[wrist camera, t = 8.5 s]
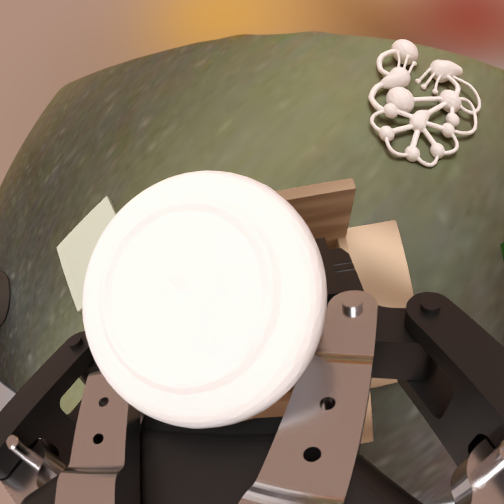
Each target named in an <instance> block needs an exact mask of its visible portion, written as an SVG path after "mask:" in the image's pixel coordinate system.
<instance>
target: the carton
mask: <svg viewBox="0 0 504 504" xmlns="http://www.w3.org/2000/svg"><path fill="white" fill-rule="evenodd" d="M355 190H356V187H355V184H354V181H353V178H349V179H343V180H337V181H331V182H325V183H319V184H313V185H307V186H302V187H296V188H291V189H285V190H280V191H275V192H276V193H278V194H279V195H280V196H281V197H283V198H284V199H285V200H286V201H287V202H288V203H289V204H291V205H292V206H293V207H294V209H295V210H296V211H297V212H298V213H299V215H300V216H301V217H302V218H303V220H304V221H305V223H306V224H307V226H308V227H309V229H310V231H311V233H312V235H313V237H314V239H315V238H322V237H325V240H326V243H327V246H328V249H335V248H342V249H343V250H345V251H346V252H347V253H349V255H350V257H351V260H352V263H353V265H354V267H355V270H356V272H357V274H358V277H359V279H360V282H361V284H362V287H363V290H364V292H367V293H369V294H371V295H372V296H373V297H374V298H375V299H376V301H377V304H378V305H380V306H383V307H390V308H406V304H407V302H408V300H409V299H410V298H411V297H412V296H414V295H413V290H412V285H411V280H410V275H409V271H408V266H407V262H406V258H405V254H404V250H403V246H402V242H401V238H400V234H399V231H398V227H397V223H396V220H393V221H387V222H381V223H375V224H369V225H363V226H358V227H352V228H348V225H349V220H350V215H351V210H352V205H353V200H354V195H355ZM396 382H398V381H397V379H383V378H372V380H371V387H370V388H374V387H379V386H383V385H388V384H392V383H396ZM295 384H296V383H295ZM294 386H295V385H294ZM294 386H293V387H292V388H291V389H290V390H289V391H288V392H287V393H286V394H285V395H283V396H282V397H281V398H280V399H279V400H278V401H277V402H275V403H274V404H273V405H271V406H270V407H269V408H267V409H266V410H264V411H262V412H260V413H258V414H256V415H254V416H253V417H251V418H248V419H246V420H249V419H253V418H265V417H280V416H284V413H285V411H286V408H287V405H288V403H289V400H290V397H291V395H292V392H293V389H294ZM244 421H245V420H244ZM372 441H373V426H372V410H371V397H370V394H369V401H368V407H367V413H366V418H365V424H364V429H363V434H362V439H361V444H362V443H367V442H372Z"/></svg>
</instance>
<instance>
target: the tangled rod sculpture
mask: <svg viewBox="0 0 504 504" xmlns="http://www.w3.org/2000/svg"><path fill="white" fill-rule="evenodd" d="M389 55H393V57H394V58H395V59H396V60H397V61H398V65H397V67H395V68H393V69H392V70H391V71H390V72H388V71H386V70H384V69H383V67H382V61H383V59H384V58H385V57H387V56H389ZM417 59H418V50H417V48H416V46H415V45H414V44H413V43H412V42H410V41H408V40H404V39H400V40H397V41H395V42H394V43H393V45H392V48H391V50H388V51H385V52H383V53H382V54H380V55H379V56H378V58H377V69H378V71H379V72H380V73H381V74H383V75H384V76H386V77H385V78H383V79H382V80H381V82H380V83H378V84H376V85H374V87H373V88H372V89H371V91H370V93H369V96H368V99H369V101H370V103H371V104H372V106H373V107H374V108H375V109H376V110H377V112H375V113H373V115H372V116H371V117H370V123H371V125H372V127H373V128H374V129H375V130H376V131H378V132H379V136H380V138H381V139H382V140H383V141H385V143H386V146H387V148H388V149H389V151H390V152H391V153H392V154H394V155H396V156H399V157H406V159H407V160H409V161H410V162H415V161H418V162H420V163H421V164H422V165H424V166H426V167H433V166H434V165H436V164H437V162H438V159H440V158H442V157H443V156H444V155H450V154H453V153H455V152H456V151H457V150H458V148H459V143H458V140H457V138H456V136H455V135H454V134H458V135H471V134H473V133H474V132H475V131H476V129H477V115H476V113H478V112H479V110H480V108H481V100H480V97H479V95H478V93H477V91H476V90H475V89H474V88H473V87H472V85H470V84H469V83H468V82H466V81H463V80H461V79H460V78H458V76H461V75H462V74H463V70H462V68H461V67H459V66H458V65H456V64H455V63H453V62H451V61H445V60H435V61H433V62H432V63H431V65H430V68H429V69H428V70H427V71H426V72H425V73H424V74H423V75H422V76H421V77H420V78H419V79H416V80H415V82H416V83H417V84H420V83H421V81H422V79H423V78H424V77H425V76H426V75H427V74H428V73H429V72H430V74H431V76H430V77H429V79H428V80H427V81H426V83H425V84H422V85H421V89H423V90H426V88H427V85H428V84H429V82H430V81H431V80H432V78H434V79H435V80H436V83H435V87H434V89H433V90H432V93H433V94H435V95H437V94H438V90H437V86H438V83H443V82H446V81H448V80H449V81H450V82H451V83H452V84H453V85H454V86H455V91H452V90H444V91H442V92H441V94H440V95H439V96H435V97H414V98H413V95H412V94H411V92H410V91H409V90H407V89H405V88H404V87H406V86H408V84H409V83H410V73H411V70H412V68H413V66H416V65H417V63H416V61H417ZM400 63H401V64H404V66H403V67H400ZM411 64H412V65H411ZM406 65H411V67H410V69H409V71H407V70H406V69H405V68H406ZM456 80H457V81H459V82H461V83H463V84H465V85H467V86H468V87H470V89H471V90H472V91H473V92H474V94H475V95H476V97H477V101H478V106H477V108H476V109H475V108H474V105H473V104H472V102H471V101H470V100H468V99H466V98H463V97H459V96H458V95H459V94H460V91H461V89H460V86H459V84H458V83H457V81H456ZM381 88H384V89H389V91H388V93H387V96H386V102H387V104H386V105H385V106H384V107H382V106H381V105H379V104H378V103H377V101H376V100H375V95H376V92H377V91H378V90H379V89H381ZM427 101H439V103H440V104H438V105H437V106H435V107H433V108H431V109H429V110H418V111H417V112H415V113H414V114H410V113H409V112H411V111H412V109H413V107H414V102H427ZM461 101H465V102H467V103H468V104H469V105H470V106H471V108H472V111H470V110H467V109H466V108H464V107H463V106H462V105H461ZM442 108H443V109H444V110H445V111H446V112H449V113H448V114H447V116H446V122H447V123H444V124H443V125H442V126H441V125H438V124H435V123H432V122H429V121H428V119H429V117H430V115H431V114H433V113H435V112H436V111H438V110H440V109H442ZM460 108H461V109H462V110H463V111H464V112H466V113H468V114H473V117H474V126H473V129H472V130H470V131H467V132H465V131H458V130H455V128H454V127H456V126H457V125H458V124H459V117H458V116H457V115H456V114H455V112H457V111H458V110H459V109H460ZM382 113H384V114H385V116H386V117H388V118H395V117H396V116H397V115H401V116H404V117H407V118H410V119H409V124H408V125H404V126H400V127H396V128H393V129H392V128H391V127H389V126H383V127H381V128H379V127H377V126H376V125H375V123H374V118H375V117H376V116H378V115H379V114H382ZM426 126H428V127H431V128H434V129H438V130H441V132H442V134H443V135H444V136H445V137H448V138H450V137H452V138H453V139H454V142H455V148H454V149H452V150H450V151H445V150H444V147H443V146H442V145H441V144H439V143H436V142H435V140H434V139H433V137H432V136H431V135H430V133H429V132H428V130H427V129H426ZM411 129H412V130H413V131H414V134H413V137H412V141H411V144H410V146H408V147H407V148H406V149H405V152H404V153H398V152H397V151H395V150H393V148H392V147H391V146H390V143H389V141H392V140H393V138H394V134H396V133H399V132H403V131H407V130H411ZM421 132H423V133H424V135H425V136H426V137H427V139H428V140H429V142H430V143H431V145H432V146H431V147H430V152H431V155H432V156H433V157H434V158H435V159H434V161H433V162H432V163H426V162H425V161H423V160H422V159H421V158H420V151H419V150H418V148H417V147H416V145H417V142H418V138H419V135H420V133H421Z"/></svg>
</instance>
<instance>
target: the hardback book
mask: <svg viewBox="0 0 504 504" xmlns="http://www.w3.org/2000/svg"><path fill="white" fill-rule="evenodd" d="M501 249H502V254H503V260H504V242H503V243H502V244H501Z"/></svg>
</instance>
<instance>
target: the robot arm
mask: <svg viewBox="0 0 504 504" xmlns="http://www.w3.org/2000/svg"><path fill="white" fill-rule="evenodd" d="M315 241H316V243H317V246H318V248H319V251H320V253H321V257H322V261H323V265H324V269H325V275H326V282H327V311H326V318H325V324H324V329H323V333H322V336H321V339H320V342H319V345H318V347H317V350H316V352H315V354H314V356H313V358H312V360H311V362H310V364H309V365H308V367H307V368H306V370H305V371H304V373H303V374H302V375H301V377H300V378H299V380H298V381H297V382H296V384H295V386H294V389H293V392H292V395H291V397H290V400H289V403H288V405H287V408H286V411H285V413H284V416H280V417H265V418H253V419H249V420H245V421H241V422H238V423H236V424H231V425H227V426H222V427H215V428H204V429H191V428H185V427H179V426H174V425H171V424H168V423H164V422H161V421H159V420H156V419H154V418H152V417H150V416H148V415H146V414H144V413H142V412H140V411H139V410H137V409H136V408H134V407H133V406H132V405H130V404H129V403H128V402H126V401H125V400H124V399H123V398H122V397H121V396H120V395H119V394H118V393H117V392H116V391H115V390H114V389H113V388H112V387H111V385H110V384H109V383H108V382H107V380H106V379H105V377H104V376H103V374H102V373H101V371H100V369H99V367H98V366H97V364H96V362H95V360H94V357H93V355H92V353H91V351H90V347H89V344H88V341H87V338H86V333H85V331H83V332H79V333H77V334H75V335H73V336H72V337H70V338H69V339H68V340H67V341H66V342H65V343H64V344H63V345H62V346H61V347H60V348H59V349H58V350H57V351H56V352H55V353H54V354H53V355H52V356H51V357H50V358H49V359H48V360H47V361H46V362H45V363H44V364H43V365H42V366H41V367H40V369H39V370H38V371H37V372H36V373H35V374H34V375H33V376H32V377H31V378H30V379H29V380H28V381H27V382H26V383H25V385H24V386H23V387H22V388H21V389H20V390H19V391H18V392H17V393H16V394H15V396H14V397H13V398H12V399H11V400H10V401H9V402H8V403H7V405H6V406H5V407H4V408H3V409H2V411H1V412H0V481H1V482H2V484H3V485H4V486H5V488H6V489H7V491H8V493H9V494H10V495H11V497H12V498H13V500H14V501H15V503H16V504H422V503H421V502H419V501H418V500H417V499H415V498H414V497H413V496H411V495H410V494H409V493H407V492H406V491H405V490H404V489H402V488H401V487H400V486H398V485H397V484H396V483H395V482H393V481H392V480H391V479H389V478H388V477H387V476H386V475H384V474H383V473H382V472H381V471H380V470H378V469H377V468H376V467H375V466H373V465H372V464H371V463H370V462H369V461H367V460H366V459H365V458H364V457H363V456H362V455H360V454H359V449H360V444H361V439H362V434H363V429H364V424H365V418H366V413H367V407H368V401H369V394H370V387H371V380H372V378H383V379H397V381H398V382H399V384H400V385H401V386H402V388H403V389H404V391H405V392H406V393H407V395H408V396H409V397H410V399H411V400H412V402H413V403H414V404H415V406H416V407H417V408H418V410H419V411H420V413H421V414H422V415H423V417H424V418H425V420H426V421H427V422H428V424H429V425H430V427H431V428H432V429H433V431H434V432H435V434H436V435H437V437H438V438H439V439H440V441H441V442H442V444H443V445H444V447H445V448H446V450H447V451H448V453H449V454H450V455H451V457H452V458H453V460H454V461H455V463H456V464H457V466H458V467H457V468H456V469H455V471H454V473H453V475H452V478H451V492H452V495H453V497H454V502H455V504H504V347H503V346H501V345H500V344H499V343H498V342H497V341H496V340H495V339H494V338H493V337H492V336H491V335H490V334H488V333H487V332H486V331H485V330H484V329H483V328H482V327H481V326H479V325H478V324H477V323H476V322H475V321H474V320H473V319H471V318H470V317H469V316H468V315H467V314H466V313H465V312H463V311H462V310H461V309H460V308H459V307H457V306H456V305H455V304H454V303H453V302H451V301H450V300H449V299H448V298H446V297H445V296H443V295H441V294H438V293H434V292H423V293H419V294H416V295H414V296H412V297H411V298H410V299H409V300H408V302H407V304H406V308H390V307H383V306H380V305H378V304H377V301H376V299H375V298H374V297H373V296H372V295H371V294H369V293H367V292H364V290H363V287H362V284H361V282H360V279H359V277H358V274H357V272H356V270H355V267H354V265H353V263H352V260H351V257H350V255H349V253H347V252H346V251H345V250H343V249H342V248H335V249H328V246H327V243H326V240H325V237H322V238H315ZM9 295H10V292H9V282H8V278H7V276H6V274H5V273H3V272H1V271H0V325H1V324H2V323H3V321H4V319H5V317H6V314H7V310H8V305H9ZM78 378H80V379H81V380H82V382H83V383H84V384H85V389H84V393H83V397H82V400H81V401H80V402H79V403H78V405H77V406H76V407H75V408H74V409H73V411H72V412H71V413H70V414H68V415H66V414H65V413H64V412H63V411H62V409H61V408H60V399H61V397H62V396H63V395H64V394H65V392H66V391H67V390H68V389H69V388H70V387H71V386H72V384H73V383H74V382H75V381H76V380H77V379H78ZM39 438H41V439H39Z"/></svg>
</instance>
